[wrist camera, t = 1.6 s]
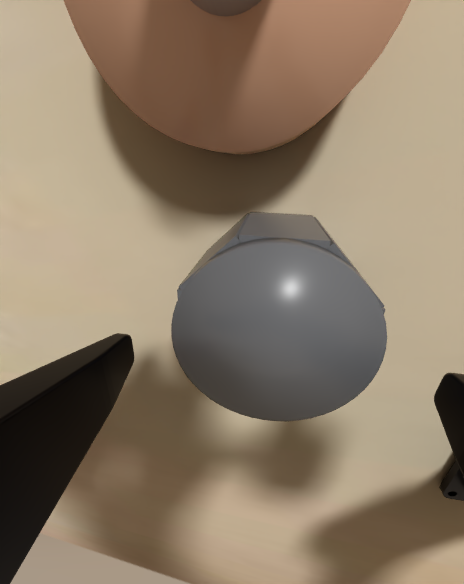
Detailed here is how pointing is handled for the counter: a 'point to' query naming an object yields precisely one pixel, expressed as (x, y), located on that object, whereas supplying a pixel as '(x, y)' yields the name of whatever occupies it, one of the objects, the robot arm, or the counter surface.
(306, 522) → the counter surface
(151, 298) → the counter surface
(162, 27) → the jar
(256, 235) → the cap
